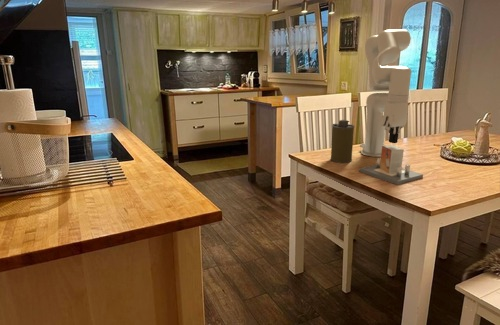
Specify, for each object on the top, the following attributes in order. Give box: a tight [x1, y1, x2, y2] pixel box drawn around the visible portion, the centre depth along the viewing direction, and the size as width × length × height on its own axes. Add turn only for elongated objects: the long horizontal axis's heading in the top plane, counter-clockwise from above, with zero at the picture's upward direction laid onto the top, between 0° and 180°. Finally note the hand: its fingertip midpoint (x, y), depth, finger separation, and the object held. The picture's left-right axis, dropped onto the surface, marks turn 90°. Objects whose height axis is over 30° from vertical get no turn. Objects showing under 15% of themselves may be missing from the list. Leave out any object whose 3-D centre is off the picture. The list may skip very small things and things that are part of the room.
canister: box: [330, 119, 355, 164], centre depth 166 cm, size 11×10×20 cm
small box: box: [380, 144, 405, 174], centre depth 145 cm, size 8×6×10 cm
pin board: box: [358, 163, 424, 186], centre depth 146 cm, size 20×16×2 cm
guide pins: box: [376, 157, 411, 177], centre depth 146 cm, size 14×7×4 cm, turn 29°
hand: (392, 142), depth 143 cm, fingers closed
